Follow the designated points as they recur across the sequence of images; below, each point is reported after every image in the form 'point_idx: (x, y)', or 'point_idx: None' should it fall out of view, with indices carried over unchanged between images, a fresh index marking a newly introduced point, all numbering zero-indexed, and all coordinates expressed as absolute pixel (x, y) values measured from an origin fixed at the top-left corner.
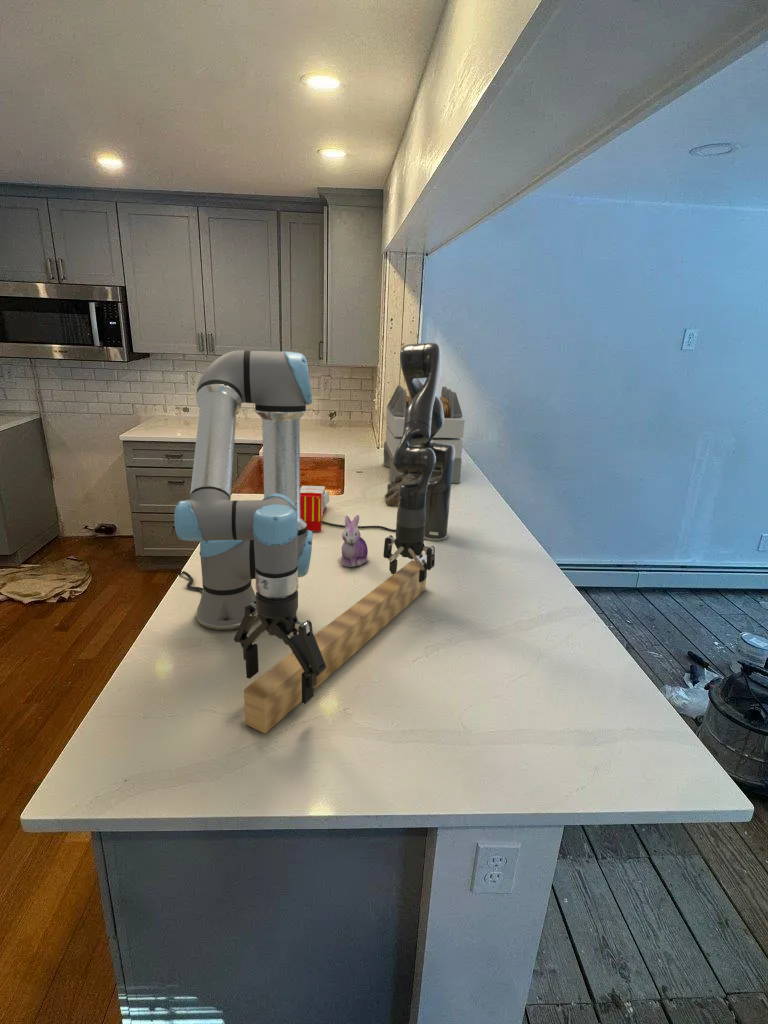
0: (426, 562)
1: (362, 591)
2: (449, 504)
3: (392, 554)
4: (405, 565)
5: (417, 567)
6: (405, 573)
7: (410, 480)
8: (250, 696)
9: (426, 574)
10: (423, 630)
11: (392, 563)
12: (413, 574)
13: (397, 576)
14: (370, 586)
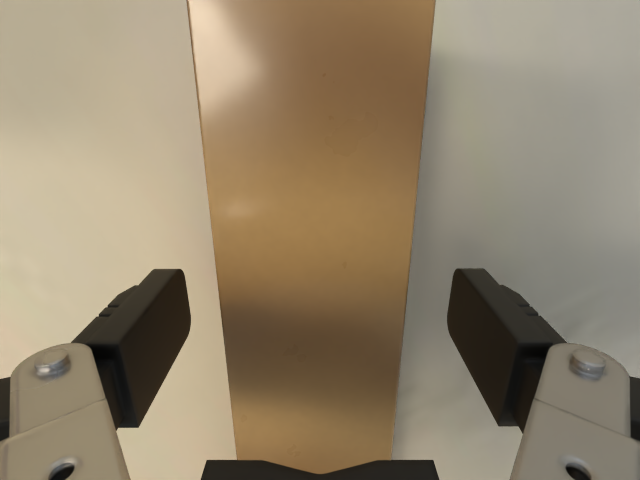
0: (626, 412)
1: (75, 290)
2: None
3: (2, 431)
4: (212, 201)
5: (360, 169)
6: (315, 363)
7: None
8: None
9: (538, 321)
10: (513, 427)
11: (131, 415)
12: (394, 344)
13: (284, 439)
14: (62, 215)
